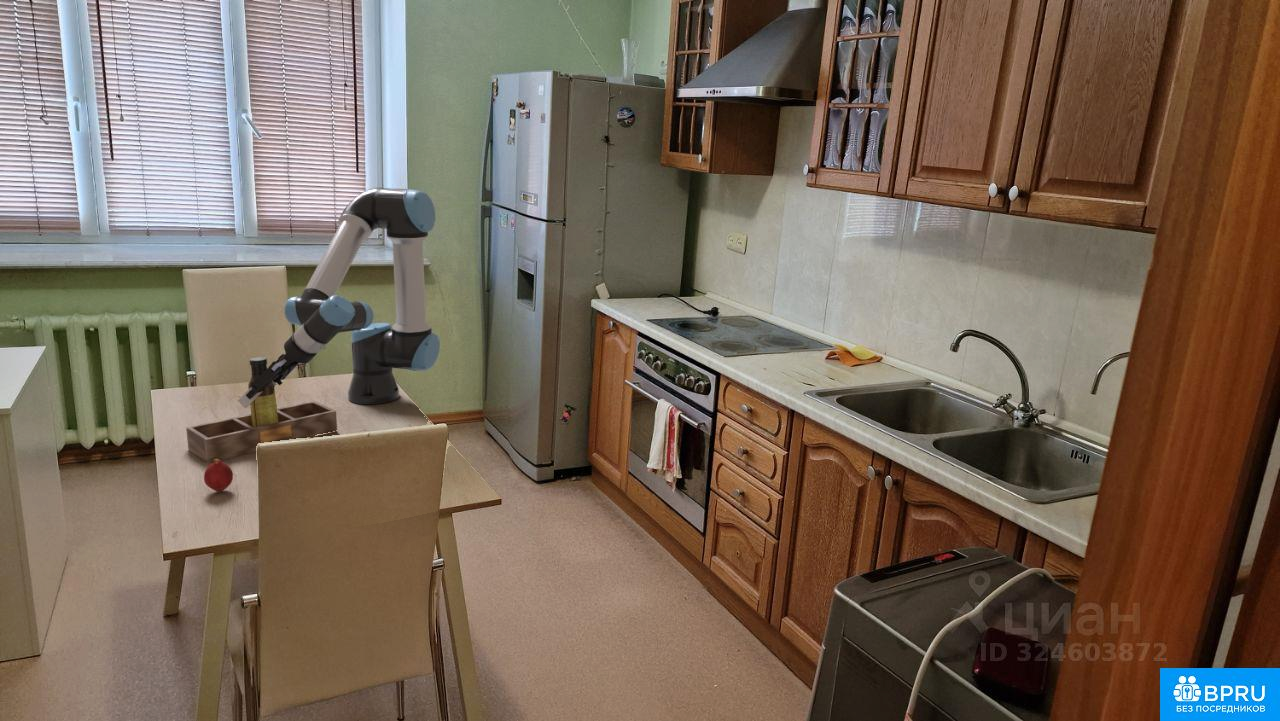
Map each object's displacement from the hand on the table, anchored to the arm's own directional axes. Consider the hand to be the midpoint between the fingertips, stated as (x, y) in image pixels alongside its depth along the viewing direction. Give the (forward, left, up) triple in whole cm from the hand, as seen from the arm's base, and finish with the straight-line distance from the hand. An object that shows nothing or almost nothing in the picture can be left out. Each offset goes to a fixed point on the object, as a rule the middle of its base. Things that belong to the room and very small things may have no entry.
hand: (249, 400), depth 216 cm
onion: (+20, +28, -11) cm, 36 cm away
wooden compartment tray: (-2, +3, -11) cm, 11 cm away
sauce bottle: (-2, +3, -9) cm, 9 cm away
